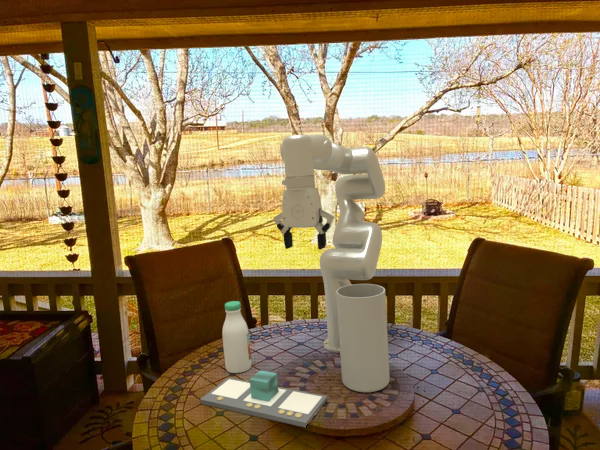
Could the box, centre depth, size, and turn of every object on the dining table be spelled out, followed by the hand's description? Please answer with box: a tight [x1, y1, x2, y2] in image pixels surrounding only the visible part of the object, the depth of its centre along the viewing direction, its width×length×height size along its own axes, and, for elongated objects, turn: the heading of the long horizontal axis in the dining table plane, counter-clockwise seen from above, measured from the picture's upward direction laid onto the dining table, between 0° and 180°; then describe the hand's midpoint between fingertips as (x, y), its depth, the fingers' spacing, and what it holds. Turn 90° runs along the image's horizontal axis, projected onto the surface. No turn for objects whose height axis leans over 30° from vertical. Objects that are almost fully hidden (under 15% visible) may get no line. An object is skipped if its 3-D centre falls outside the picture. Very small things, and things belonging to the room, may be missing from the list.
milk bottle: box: [221, 300, 252, 374], centre depth 128 cm, size 8×8×20 cm
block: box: [249, 370, 279, 402], centre depth 109 cm, size 5×5×5 cm
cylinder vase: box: [336, 283, 391, 393], centre depth 114 cm, size 12×12×25 cm
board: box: [199, 377, 328, 429], centre depth 109 cm, size 12×30×2 cm, turn 63°
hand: (305, 248), depth 115 cm, fingers open, 9 cm apart
